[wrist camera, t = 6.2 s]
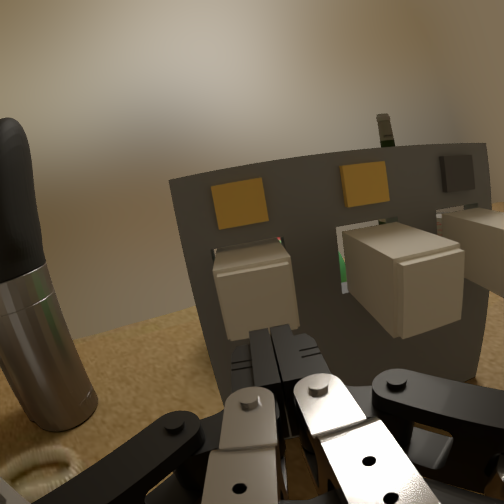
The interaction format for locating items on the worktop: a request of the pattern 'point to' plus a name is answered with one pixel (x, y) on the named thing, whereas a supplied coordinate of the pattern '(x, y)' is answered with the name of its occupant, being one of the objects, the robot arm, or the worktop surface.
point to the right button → (479, 245)
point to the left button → (255, 287)
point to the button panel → (335, 248)
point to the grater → (10, 494)
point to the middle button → (405, 277)
